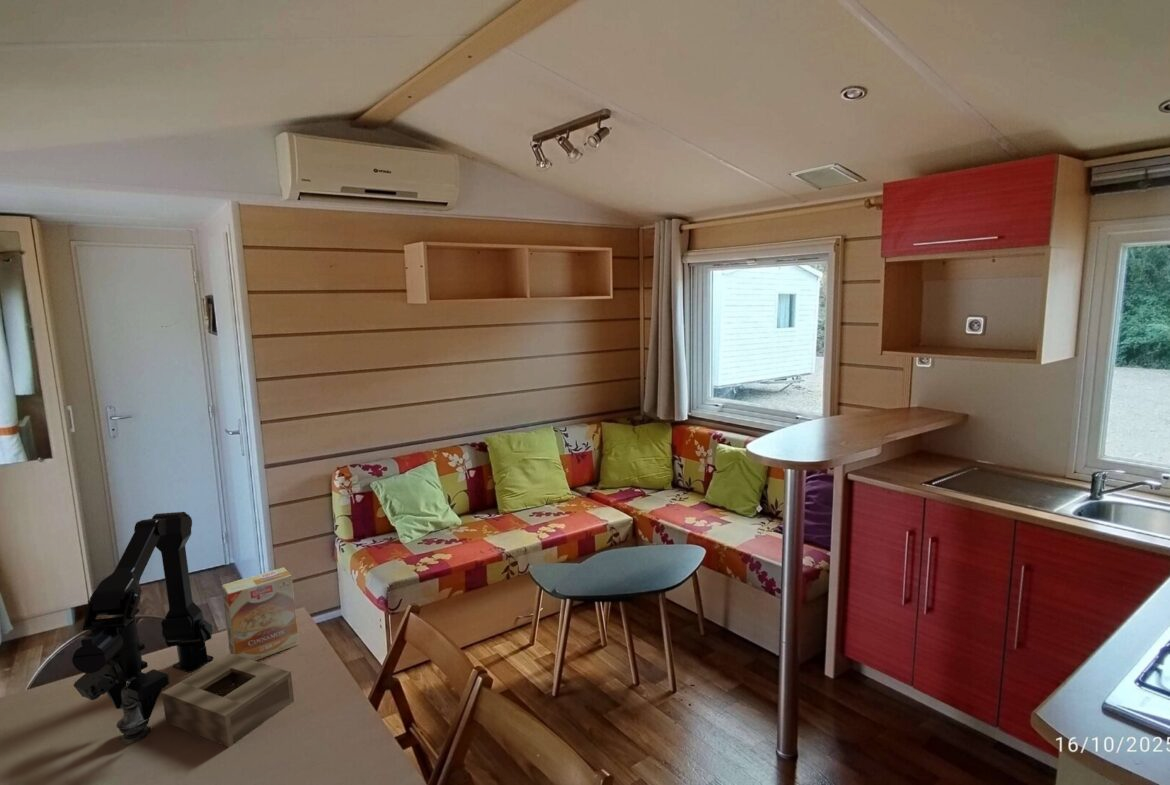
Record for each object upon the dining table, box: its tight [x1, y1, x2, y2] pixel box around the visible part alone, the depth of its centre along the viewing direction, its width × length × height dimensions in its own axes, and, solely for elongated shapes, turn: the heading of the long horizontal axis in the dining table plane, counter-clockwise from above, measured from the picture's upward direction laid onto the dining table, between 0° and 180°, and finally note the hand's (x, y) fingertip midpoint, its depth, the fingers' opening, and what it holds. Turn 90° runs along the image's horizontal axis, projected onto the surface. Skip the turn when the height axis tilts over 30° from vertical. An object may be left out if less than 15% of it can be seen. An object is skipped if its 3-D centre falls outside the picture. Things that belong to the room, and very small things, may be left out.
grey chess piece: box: [116, 682, 152, 744], centre depth 133 cm, size 6×6×12 cm
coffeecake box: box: [221, 567, 300, 661], centre depth 163 cm, size 15×7×20 cm, turn 131°
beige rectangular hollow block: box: [161, 652, 295, 748], centre depth 140 cm, size 20×16×7 cm
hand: (133, 713), depth 133 cm, fingers open, 9 cm apart
